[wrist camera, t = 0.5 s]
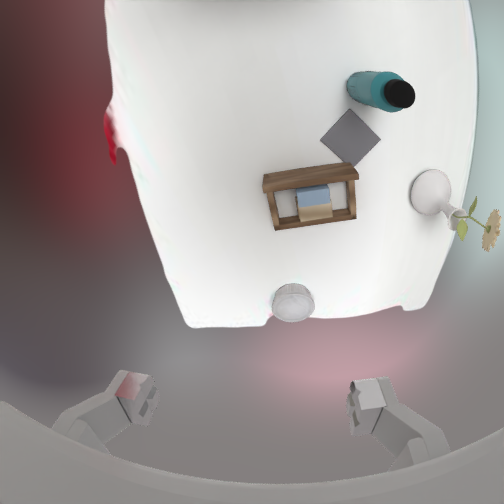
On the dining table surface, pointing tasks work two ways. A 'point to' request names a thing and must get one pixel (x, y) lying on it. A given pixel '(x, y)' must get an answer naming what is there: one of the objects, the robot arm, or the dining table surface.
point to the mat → (350, 138)
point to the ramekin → (293, 303)
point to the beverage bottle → (381, 90)
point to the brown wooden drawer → (310, 178)
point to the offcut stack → (314, 211)
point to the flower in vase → (449, 206)
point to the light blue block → (313, 195)
